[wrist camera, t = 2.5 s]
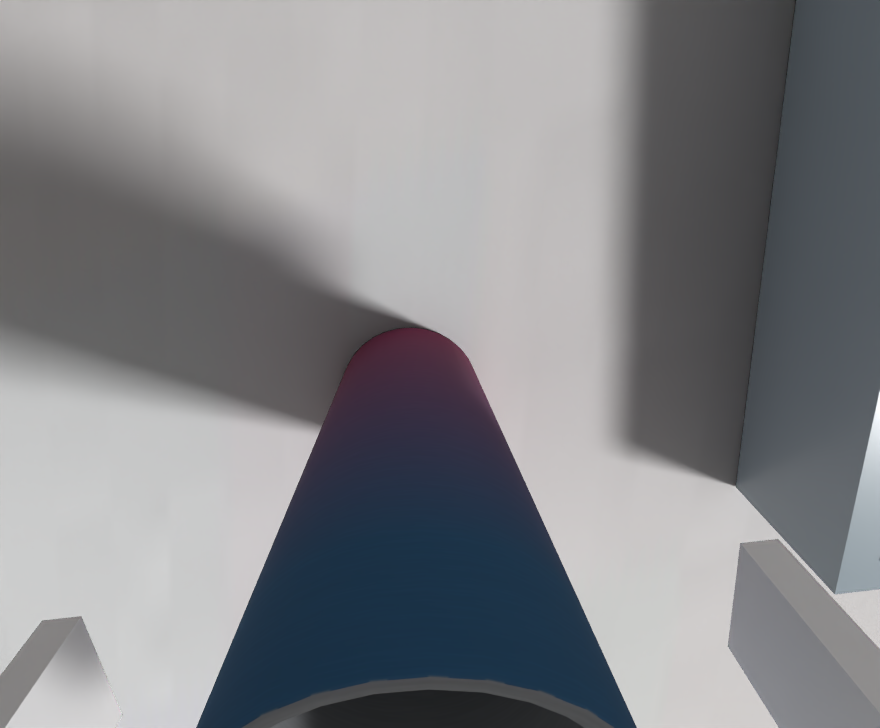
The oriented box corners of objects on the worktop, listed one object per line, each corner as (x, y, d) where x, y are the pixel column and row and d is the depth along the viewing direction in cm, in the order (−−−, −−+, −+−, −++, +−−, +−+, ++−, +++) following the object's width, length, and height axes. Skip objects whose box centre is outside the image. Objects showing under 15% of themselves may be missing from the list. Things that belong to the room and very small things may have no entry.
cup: (298, 319, 20) (68, 730, 6) (489, 288, 20) (672, 636, 6) (339, 480, 23) (238, 1022, 9) (509, 453, 23) (668, 956, 9)
